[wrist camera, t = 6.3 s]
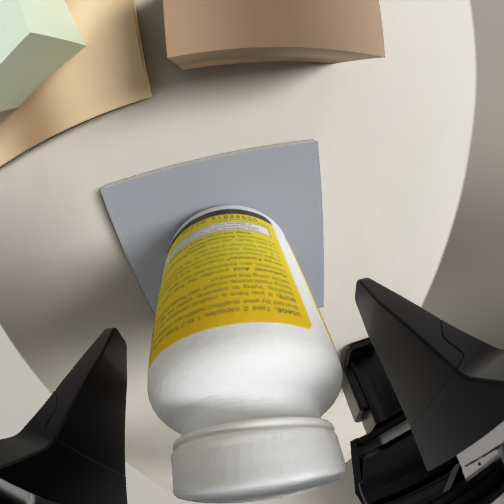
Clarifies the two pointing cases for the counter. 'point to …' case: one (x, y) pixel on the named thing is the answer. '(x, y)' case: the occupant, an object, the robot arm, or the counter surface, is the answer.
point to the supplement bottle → (242, 364)
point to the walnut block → (271, 31)
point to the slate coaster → (218, 194)
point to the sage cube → (33, 46)
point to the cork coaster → (83, 78)
